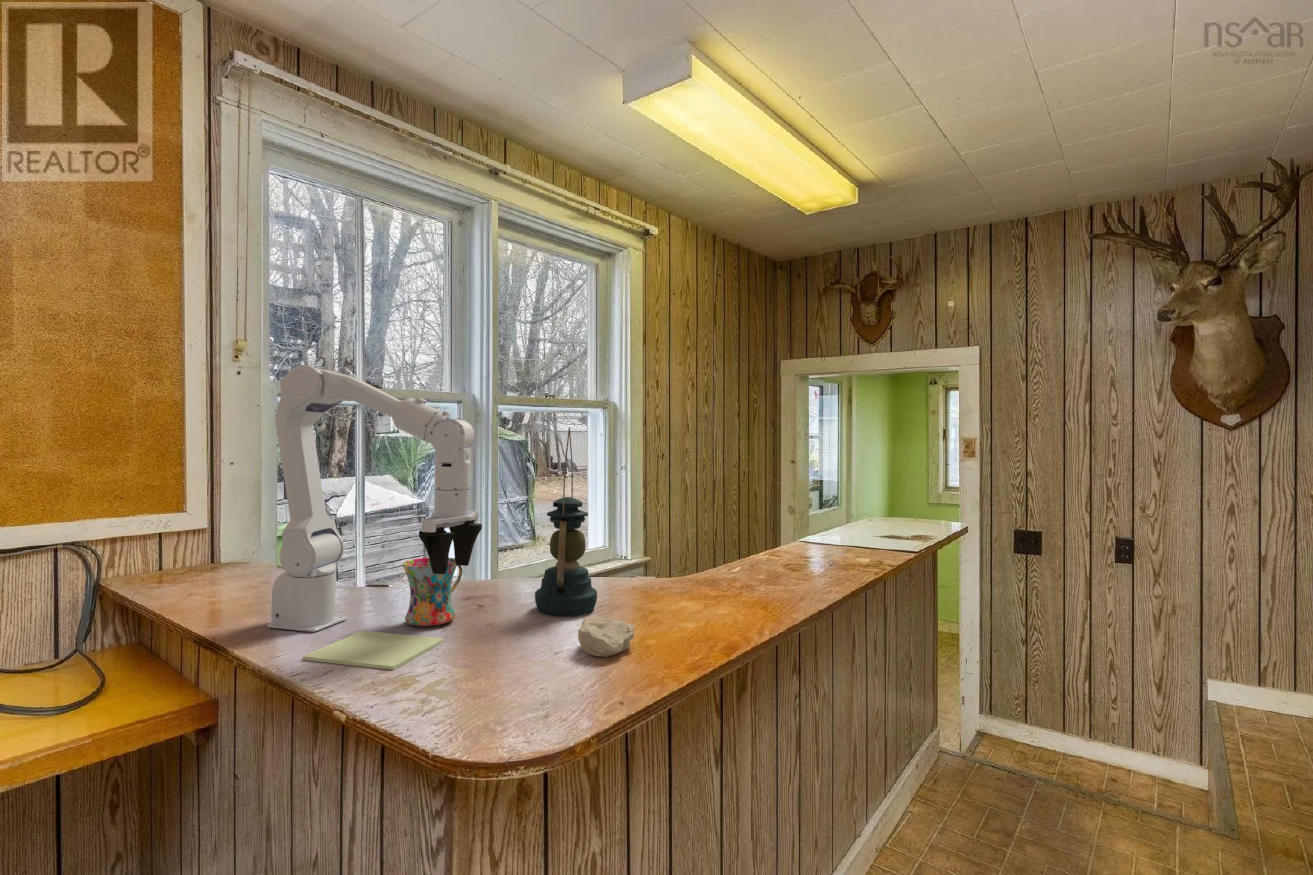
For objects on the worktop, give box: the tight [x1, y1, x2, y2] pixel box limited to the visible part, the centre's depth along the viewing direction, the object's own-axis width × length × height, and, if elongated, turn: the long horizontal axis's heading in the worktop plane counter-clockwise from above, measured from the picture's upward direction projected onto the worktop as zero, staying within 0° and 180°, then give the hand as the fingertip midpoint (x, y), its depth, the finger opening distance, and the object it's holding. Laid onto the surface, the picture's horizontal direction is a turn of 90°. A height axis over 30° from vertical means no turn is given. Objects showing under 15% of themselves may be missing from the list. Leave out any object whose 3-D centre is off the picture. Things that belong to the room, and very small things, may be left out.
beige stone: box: [577, 615, 635, 658], centre depth 101 cm, size 9×6×10 cm
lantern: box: [534, 426, 598, 618], centre depth 124 cm, size 14×12×35 cm
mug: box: [402, 557, 464, 627], centre depth 115 cm, size 12×9×11 cm
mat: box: [302, 630, 445, 671], centre depth 99 cm, size 15×13×1 cm
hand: (451, 569), depth 110 cm, fingers open, 7 cm apart
